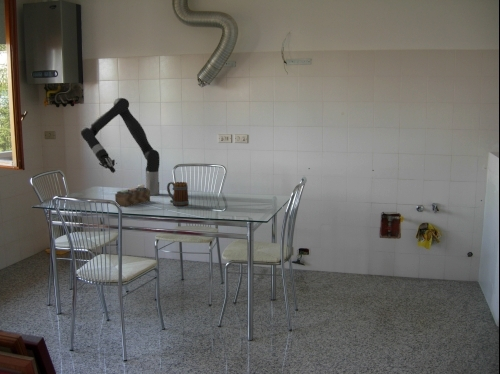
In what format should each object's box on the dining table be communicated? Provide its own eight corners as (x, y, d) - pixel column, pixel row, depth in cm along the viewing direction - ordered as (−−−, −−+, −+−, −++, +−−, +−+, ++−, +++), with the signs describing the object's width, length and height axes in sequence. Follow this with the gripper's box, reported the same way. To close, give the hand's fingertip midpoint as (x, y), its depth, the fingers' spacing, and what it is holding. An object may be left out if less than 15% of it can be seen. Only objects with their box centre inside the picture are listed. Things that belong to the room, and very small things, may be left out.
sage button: (124, 192, 329) (124, 189, 328) (129, 193, 326) (129, 190, 326) (119, 193, 325) (119, 190, 324) (124, 194, 323) (124, 191, 322)
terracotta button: (132, 191, 336) (132, 188, 335) (138, 191, 333) (137, 189, 333) (128, 192, 332) (127, 189, 331) (133, 192, 329) (133, 189, 329)
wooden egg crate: (140, 199, 346) (140, 186, 345) (150, 201, 342) (149, 188, 340) (115, 205, 325) (115, 191, 324) (125, 206, 321) (124, 193, 320)
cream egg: (140, 187, 342) (140, 184, 342) (146, 187, 340) (146, 185, 340) (136, 188, 338) (136, 185, 338) (141, 188, 336) (141, 185, 336)
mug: (191, 204, 333) (191, 182, 331) (183, 207, 323) (183, 184, 321) (172, 202, 339) (172, 180, 337) (163, 204, 330) (163, 182, 328)
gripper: (95, 149, 326) (109, 169, 322) (110, 148, 338) (124, 167, 334) (89, 156, 330) (103, 176, 326) (104, 155, 341) (118, 174, 337)
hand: (114, 171), depth 330 cm, fingers closed
